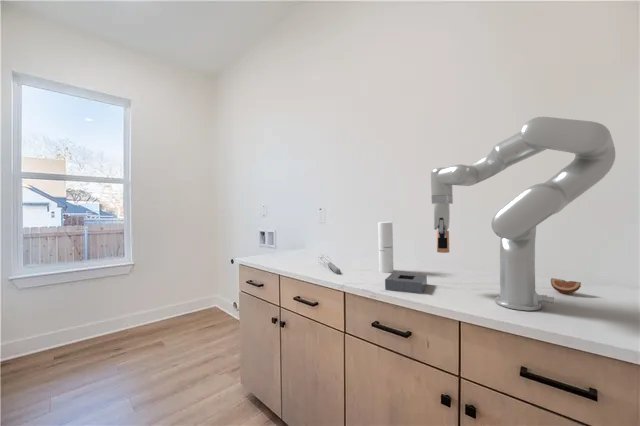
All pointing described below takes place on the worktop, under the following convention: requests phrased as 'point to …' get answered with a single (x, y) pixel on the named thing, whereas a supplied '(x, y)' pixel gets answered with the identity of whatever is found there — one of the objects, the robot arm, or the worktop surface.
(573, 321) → the worktop surface
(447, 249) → the plug
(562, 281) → the fruit slice
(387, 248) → the cylindrical container
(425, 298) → the worktop surface
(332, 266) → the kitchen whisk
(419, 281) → the socket block
